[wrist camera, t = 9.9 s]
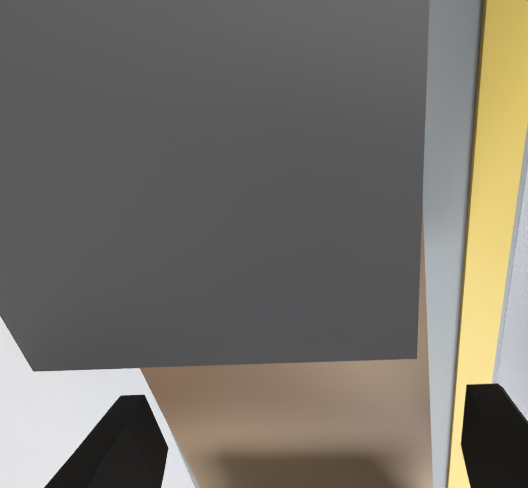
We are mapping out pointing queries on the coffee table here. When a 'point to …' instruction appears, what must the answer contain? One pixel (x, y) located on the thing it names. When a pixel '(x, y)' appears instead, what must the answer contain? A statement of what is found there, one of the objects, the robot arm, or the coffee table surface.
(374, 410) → the wooden plank
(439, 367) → the dock
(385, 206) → the crate
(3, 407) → the coffee table surface
